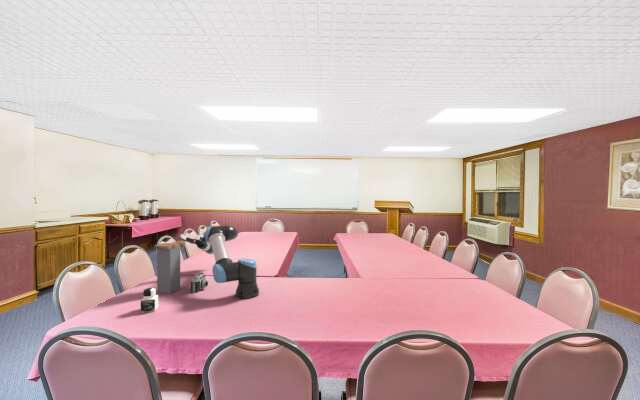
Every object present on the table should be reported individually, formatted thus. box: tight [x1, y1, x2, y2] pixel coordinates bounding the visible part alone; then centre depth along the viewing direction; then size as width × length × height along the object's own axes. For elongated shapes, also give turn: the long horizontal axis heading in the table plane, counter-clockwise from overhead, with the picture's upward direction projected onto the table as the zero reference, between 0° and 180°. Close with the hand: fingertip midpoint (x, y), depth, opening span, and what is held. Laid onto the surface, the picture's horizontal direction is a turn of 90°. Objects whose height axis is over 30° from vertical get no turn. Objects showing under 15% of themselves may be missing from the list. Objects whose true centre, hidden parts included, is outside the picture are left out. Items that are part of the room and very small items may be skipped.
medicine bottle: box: [140, 287, 159, 314], centre depth 163 cm, size 7×7×12 cm
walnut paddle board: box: [153, 240, 185, 250], centre depth 198 cm, size 21×11×2 cm, turn 169°
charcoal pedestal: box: [156, 245, 181, 295], centre depth 194 cm, size 10×10×30 cm
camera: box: [190, 272, 209, 294], centre depth 198 cm, size 14×8×10 cm, turn 179°
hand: (188, 235), depth 214 cm, fingers open, 13 cm apart
